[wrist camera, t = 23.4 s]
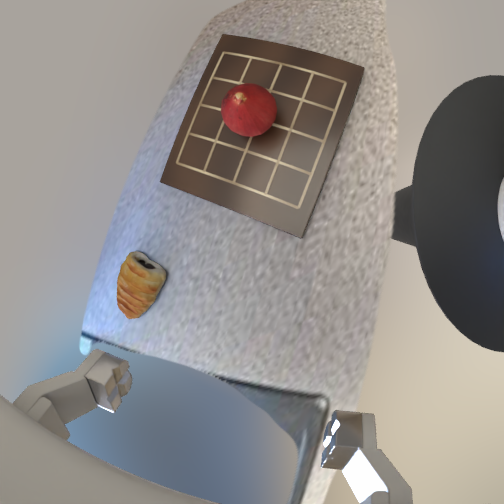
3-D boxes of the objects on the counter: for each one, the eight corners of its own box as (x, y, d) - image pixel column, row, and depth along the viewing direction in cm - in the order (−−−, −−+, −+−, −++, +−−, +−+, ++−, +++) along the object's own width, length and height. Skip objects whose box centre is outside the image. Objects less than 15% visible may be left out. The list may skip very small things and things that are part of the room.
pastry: (148, 325, 42) (133, 333, 38) (115, 299, 43) (99, 305, 40) (172, 270, 40) (156, 275, 36) (135, 245, 41) (118, 248, 38)
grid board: (363, 72, 31) (364, 66, 30) (302, 237, 35) (300, 238, 34) (226, 39, 35) (222, 33, 33) (165, 183, 39) (159, 181, 37)
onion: (224, 129, 35) (196, 108, 27) (249, 90, 33) (228, 61, 26) (265, 152, 34) (245, 133, 26) (291, 111, 32) (279, 82, 25)
